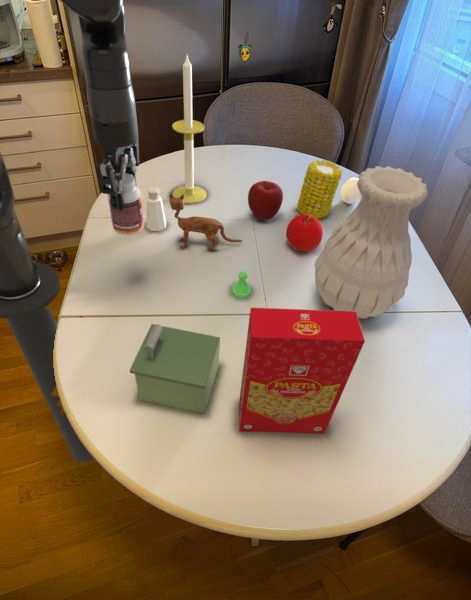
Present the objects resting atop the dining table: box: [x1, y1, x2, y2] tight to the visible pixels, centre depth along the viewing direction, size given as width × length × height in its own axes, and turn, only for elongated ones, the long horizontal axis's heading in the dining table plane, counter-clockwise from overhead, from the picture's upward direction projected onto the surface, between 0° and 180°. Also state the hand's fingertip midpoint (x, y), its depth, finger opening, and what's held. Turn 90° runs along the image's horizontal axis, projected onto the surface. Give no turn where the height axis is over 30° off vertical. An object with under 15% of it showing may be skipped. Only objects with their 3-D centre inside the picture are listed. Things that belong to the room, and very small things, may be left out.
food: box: [296, 159, 343, 220], centre depth 117 cm, size 15×12×10 cm
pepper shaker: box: [145, 186, 167, 233], centre depth 108 cm, size 5×5×11 cm
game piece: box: [232, 270, 251, 299], centre depth 94 cm, size 4×4×6 cm
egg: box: [340, 177, 362, 205], centre depth 124 cm, size 6×6×8 cm
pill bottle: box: [107, 172, 144, 236], centre depth 82 cm, size 6×6×11 cm
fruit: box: [285, 213, 324, 252], centre depth 106 cm, size 9×9×10 cm
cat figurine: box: [169, 193, 243, 251], centre depth 103 cm, size 18×7×14 cm, turn 92°
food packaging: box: [238, 306, 366, 435], centre depth 64 cm, size 15×5×25 cm, turn 90°
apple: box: [247, 180, 284, 221], centre depth 115 cm, size 10×10×10 cm
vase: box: [314, 165, 429, 320], centre depth 85 cm, size 20×20×30 cm
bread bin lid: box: [129, 323, 221, 389], centre depth 70 cm, size 13×11×4 cm
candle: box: [171, 55, 208, 205], centre depth 111 cm, size 10×10×38 cm
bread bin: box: [134, 341, 221, 415], centre depth 75 cm, size 12×11×8 cm
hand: (124, 199), depth 81 cm, fingers closed on pill bottle, 6 cm apart
